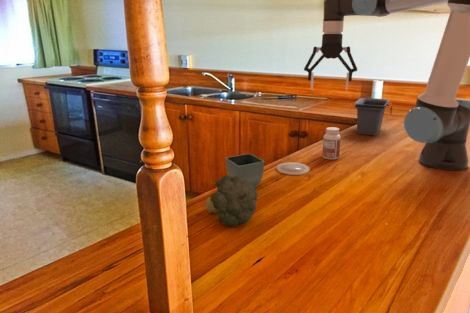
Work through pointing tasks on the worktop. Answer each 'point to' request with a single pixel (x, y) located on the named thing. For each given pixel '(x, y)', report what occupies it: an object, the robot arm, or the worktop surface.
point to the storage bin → (370, 115)
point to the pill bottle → (331, 143)
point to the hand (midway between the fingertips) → (328, 89)
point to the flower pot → (246, 167)
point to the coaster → (293, 168)
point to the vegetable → (233, 200)
